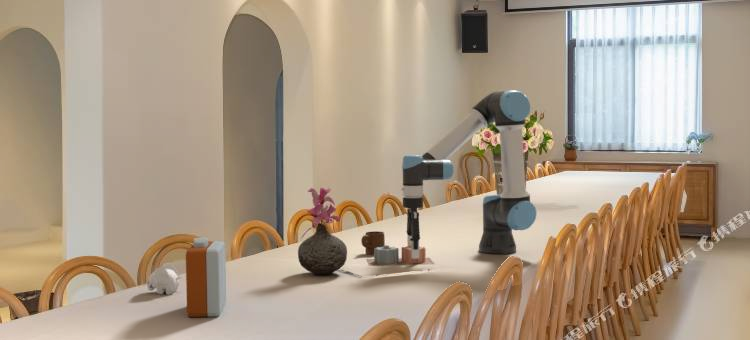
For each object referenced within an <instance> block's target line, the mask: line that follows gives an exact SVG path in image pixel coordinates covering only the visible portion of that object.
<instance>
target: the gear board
mask: <svg viewBox="0 0 750 340" xmlns="http://www.w3.org/2000/svg"><path fill="white" fill-rule="evenodd" d="M389 247H390V245H389V244H387V245H386V244H385V245H384V246H383V249H389ZM410 248H411V245H410ZM365 260H366V262H367V264H368V266H369V267H370V266H374V267H375V266H406V265H407V266H410V265H411V266H413V265H415V266H416V265H417V266H418V265H435V263H434V261H433V260H432V259H431V258H430V257H425V260H426V262H421V263H407V262H402V257H400V258H399V262H397V263H389V264H385V263H380V264H379V263H377V262H374V258H366V259H365Z"/></svg>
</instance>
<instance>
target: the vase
mask: <svg viewBox="0 0 750 340" xmlns="http://www.w3.org/2000/svg"><path fill="white" fill-rule="evenodd" d="M307 192H308V193H311V197H312V204H313V205H314V207H312V208H310V209H308V210H307V213H308V214H309V215H310V216H311V217H313V218H312V219H311V220H312V224H311V227H310V228H308V229H307V230H305V232H304V233H303V234H302V236H301V238H300V240H302V239H303V238H304V236H305V235H306V233H307V232H309V231H310V230H311V229H315V232H314V234H312V235H311V236H309V237H307V238H306V239H305V240H303V241H302V242H301V243H300V244H299V246H298V249H297V257H298V258H297V259H298V262H299V264H300V266H301V267H302V268H303V269H305V270H306V271H308V272H310V273H311V274H312V275H313V276H316V277H327V276H332V275H333V274H334V273H335V272H337V271H339V270H340V269H341V268H343V266H344V265H345V264H346V262H347V257H348V249H347V245H346V243H345V242H344V241H343V240H342V239H341V238H339V237H337V236H335V235H333V234H332V233H330V232H329V231H328V230H327V229H328V228H327V227H326V224H332V223H333V220H334V221H336V222H337V223H338V222H339V221H340V216H339V215H332V214H333V213H334V212H336V211H337V209H336V208H335V206H336V204H335V202H334V200H333V198H332V197H330V196H327V194H328V193H330V192H331V188H330V187H328V188H327V189H325V188H323V187H320V188H319V193H318V192H317V190H316V189H315V188H312V187H311V188H309V190H307ZM325 202H330V204H329V205H328V204H326V205H325V207H324V204H325ZM332 204H333V205H334V206H332ZM323 221H325V222H324V223H325V224H324V223H323ZM316 224H317V226H316Z"/></svg>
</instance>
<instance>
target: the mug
mask: <svg viewBox="0 0 750 340" xmlns="http://www.w3.org/2000/svg"><path fill="white" fill-rule="evenodd" d="M385 237H386V236H385V232H384V231H373V230H372V231H366V232H365V234H364V235H362V237H361V245H362V247H363V248H365V255H368V256H369V255H370V256H374V248H376V247H383V246H384V245H386V244H385V243H386V242H385V241H386V239H385Z"/></svg>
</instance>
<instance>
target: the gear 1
mask: <svg viewBox="0 0 750 340" xmlns="http://www.w3.org/2000/svg"><path fill="white" fill-rule="evenodd" d="M399 250H400V249H399V247H395V246H389V249H383V247H376V248H374V255H373V256H374V258H373V259H374V262H377V263H379V264H380V263H385V264H389V263H397V262H399V257H400V256H399Z"/></svg>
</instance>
